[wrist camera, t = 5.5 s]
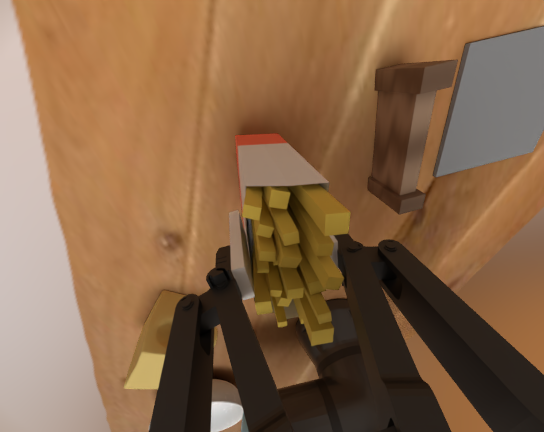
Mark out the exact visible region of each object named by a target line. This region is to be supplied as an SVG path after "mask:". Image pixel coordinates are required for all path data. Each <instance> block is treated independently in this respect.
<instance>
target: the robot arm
mask: <svg viewBox="0 0 544 432" xmlns="http://www.w3.org/2000/svg"><path fill="white" fill-rule="evenodd" d="M229 224H230V245H229V246H226V247H222V248H219V250H218V251H217V253H216V267H215V268H214V269H212V270H211V271H210V272H209V273H208V275H207V276H206V280H207V282H208V284H209V286H210V288H211V289H209V290H208V291H207V292H205V293H204V294H202V295H200V296H197V295H195V294H189V295H187V296H184V297H183V298H182V299H180V301H179V302H178V303H177V305H176V307H175V312H174V317H173V321H172V326H171V331H170V335H169V340H168V345H167V349H166V354H165V359H164V363H163V368H162V373H161V377H160V382H159V387H158V391H157V396H156V401H155V405H154V410H153V414H152V419H151V424H150V428H149V432H211V407H212V380H213V354H214V327H215V326H217V325H219V324H220V325H221V328H222V332H223V336H224V340H225V343H226V347H227V351H228V355H229V359H230V362H231V366H232V370H233V374H234V377H235V381H236V385H237V389H238V393H239V396H240V400H241V404H242V408H243V416H242V426H241V432H451V430H450V428H449V426H448V423H447V421H446V419H445V417H444V415H443V412H442V410H441V408H440V406H439V404H438V401H437V399H436V397H435V395H434V393H433V391H432V390H431V388H430V386H429V385H428V384H427V383H426V382H424V381H423V380H422V378H421V377H420V375H419V373H418V370H417V368H416V366H415V364H414V361H413V359H412V357H411V354H410V352H409V350H408V347H407V345H406V343H405V340H404V338H403V336H402V334H401V331H400V329H399V327H398V324H397V322H396V320H395V317H394V315H393V313H392V311H391V308H390V306H389V304H388V301H387V299H386V297H385V294H384V292H383V290H382V288H383V289H384V290H385V292H386V293H387V294H388V296H389V297H390V298H391V299H392V301H393V302H394V303H395V305H396V306H397V307H398V309H399V310H400V311H401V312H402V314H403V315H404V316H405V318H406V319H407V320H408V322H409V323H410V324H411V326H412V327H413V328H414V329H415V331H416V332H417V333H418V335H419V336H420V337H421V339H422V340H423V341H424V342H425V344H426V345H427V346H428V348H429V349H430V350H431V352H432V353H433V354H434V356H435V357H436V358H437V359H438V361H439V362H440V363H441V365H442V366H443V367H444V369H445V370H446V371H447V373H448V374H449V375H450V376H451V378H452V379H453V380H454V382H455V383H456V384H457V385H458V387H459V388H460V389H461V391H462V392H463V393H464V395H465V396H466V397H467V399H468V400H469V401H470V403H471V404H472V405H473V406H474V408H475V409H476V410H477V412H478V413H479V414H480V416H481V417H482V418H483V420H484V421H485V422H486V423H487V424H488V426H489V427H490V428H491V429H492V431H493V432H544V375H543V374H542V373H541V372H540V371H539V370H538V369H537V368H536V367H535V366H533V365H532V364H531V363H530V362H529V361H528V360H527V359H526V358H525V357H524V356H523V355H521V354H520V353H519V352H518V351H517V350H516V349H515V348H514V347H513V346H512V345H511V344H510V343H508V342H507V341H506V340H505V339H504V338H503V337H502V336H501V335H500V334H499V333H497V332H496V331H495V330H494V329H493V328H492V327H491V326H490V325H489V324H488V323H487V322H486V321H484V320H483V319H482V318H481V317H480V316H479V315H478V314H477V313H476V312H475V311H474V310H472V309H471V308H470V307H469V306H468V305H467V304H466V303H465V302H464V301H463V300H462V299H460V298H459V297H458V296H457V295H456V294H455V293H454V292H453V291H452V290H451V289H450V288H449V287H447V286H446V285H445V284H444V283H443V282H442V281H441V280H440V279H439V278H438V277H437V276H435V275H434V274H433V273H432V272H431V271H430V270H429V269H428V268H427V267H426V266H425V265H423V264H422V263H421V262H420V261H419V260H418V259H417V258H416V257H415V256H414V255H413V254H412V253H410V252H409V251H408V250H407V249H406V248H405V247H404V246H403V245H402V244H400V243H399V242H397V241H394V240H383V241H381V242H380V243H379V244H378V247H365V246H363V245H362V244H361V243H359V242H356V241H353V239H352V238H351V237H350V236H349V235H348V234H340V235H331V236H330V238H331V239H332V241H333V242H334V247H333V252H332V256H330V257H331V259H332V260H333V262H334V263H335V265H336V266H337V268H339V269H340V271H341V272H342V276H343V277H344V280H343V282H342V286H344V288H345V292H346V295H347V299H348V300H346V299H336V300H330V301H326V304H327V306H328V307H329V309H330V311H331V318H332V321H331V323H332V325H333V327H334V334H333V342H330V343H325V344H319V345H314V346H312V345H311V343H310V340H309V337H308V334H307V331H306V328H305V325H304V324H301V322H300V319H299V320H298V322H297V324H296V333H297V336H298V340H299V342H300V344H301V345H302V347H303V348H304V350H305V351H306V353H307V354H308V356H309V358H310V359H311V361H312V362H313V364H314V365H315V367H316V370H317V373H318V376H319V379H316V380H312V381H308V382H304V383H300V384H296V385H292V386H288V387H284V388H279V389H277V387H276V385H275V382H274V380H273V377H272V375H271V372H270V370H269V367H268V365H267V362H266V360H265V357H264V355H263V352H262V350H261V347H260V345H259V342H258V340H257V337H256V335H255V332H254V330H253V327H252V325H251V322H250V320H249V317H248V315H247V312H246V310H245V307H244V305H243V303H242V298H243V300H246V299H250V298H253V297H255V292H254V285H253V278H252V271H251V264H250V257H249V250H248V243H247V236H246V233H245V230H244V227H243V224H242V220H241V217H240V214H239V211H238V210H236V211H232V212H229ZM381 286H382V287H381Z"/></svg>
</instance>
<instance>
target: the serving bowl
mask: <svg viewBox="0 0 544 432" xmlns="http://www.w3.org/2000/svg"><path fill="white" fill-rule="evenodd" d="M242 416H243V408H242V404H241V400H240V396H239V393H238V389H237V388H236V387H235V386H234V385H233V384H231V383H229V382H227V381H224V380H219V379H213V380H212V407H211V432H219V431H221V430H224V429H226V428H228V427H231V426H232V425H234V424H236V423H237V422H239V421H240V420H241V419H242ZM150 424H151V422H150ZM149 428H150V425H149Z"/></svg>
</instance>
